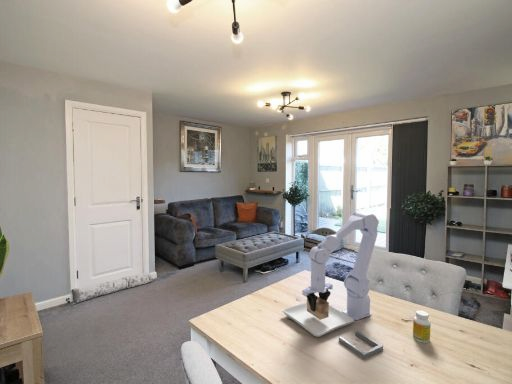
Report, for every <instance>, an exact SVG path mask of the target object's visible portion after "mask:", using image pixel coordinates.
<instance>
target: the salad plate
mask: <svg viewBox="0 0 512 384" xmlns="http://www.w3.org/2000/svg"><path fill="white" fill-rule="evenodd" d="M282 312H283V314H284V315H285V316H287V317H288V318H289V319H290V320H292V321H293V322H295V323H297V324H298V325H299V326H300V327H302V328H304V329H305V330H306V331H307V332H309V333H310V334H311V335H312V336H314V337H317V338H319V337H320V338H321V337H322V336H323V335H326V334H328V333H331V332H333V331H335V330H337V329H341V328H343V327H345V326H348V325H350V324H352V323H354V321H355V319H353V318H352V317H350V316H348V315H346V314H345V313H343V312H342V311H341V310H339V309H337V308H335V307H334V306H332V305H330V304H329V317H327V318H324V319H321V320H319V319H318V318H317V317H315V316H314V315H312V314H311V313H309V312H308V311H307V301H306V302H304V303H301V304H297V305H294V306H291V307H287V308H283V309H282Z"/></svg>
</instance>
